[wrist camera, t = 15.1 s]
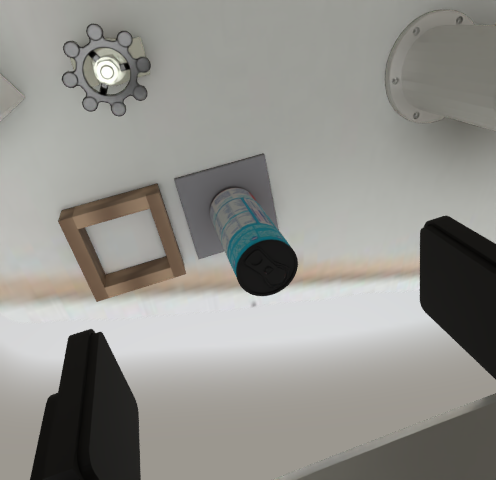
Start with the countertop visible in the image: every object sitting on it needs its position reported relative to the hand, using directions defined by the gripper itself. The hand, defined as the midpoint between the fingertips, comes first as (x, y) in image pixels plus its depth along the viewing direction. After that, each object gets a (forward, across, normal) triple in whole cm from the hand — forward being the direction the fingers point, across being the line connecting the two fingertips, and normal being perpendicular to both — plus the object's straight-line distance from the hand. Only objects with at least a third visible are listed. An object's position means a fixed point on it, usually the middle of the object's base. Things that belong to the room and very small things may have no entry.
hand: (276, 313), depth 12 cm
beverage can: (+38, -4, +14) cm, 41 cm away
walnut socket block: (+38, +9, +14) cm, 42 cm away
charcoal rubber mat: (+38, -4, +14) cm, 41 cm away
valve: (+38, +4, -5) cm, 39 cm away
